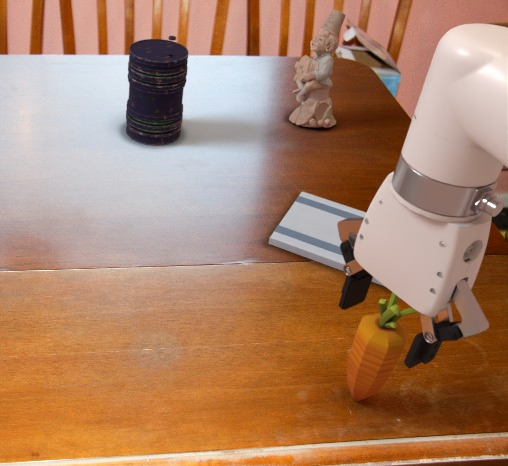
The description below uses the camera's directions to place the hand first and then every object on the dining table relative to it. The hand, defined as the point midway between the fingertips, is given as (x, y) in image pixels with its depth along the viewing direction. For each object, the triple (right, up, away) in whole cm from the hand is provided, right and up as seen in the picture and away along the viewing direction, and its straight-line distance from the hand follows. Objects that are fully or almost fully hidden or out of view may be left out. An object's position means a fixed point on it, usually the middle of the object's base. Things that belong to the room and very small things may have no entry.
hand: (382, 330), depth 64 cm
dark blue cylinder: (-23, +27, +51) cm, 62 cm away
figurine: (+6, +30, +58) cm, 66 cm away
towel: (+5, +8, +29) cm, 30 cm away
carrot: (-1, -9, +6) cm, 11 cm away
